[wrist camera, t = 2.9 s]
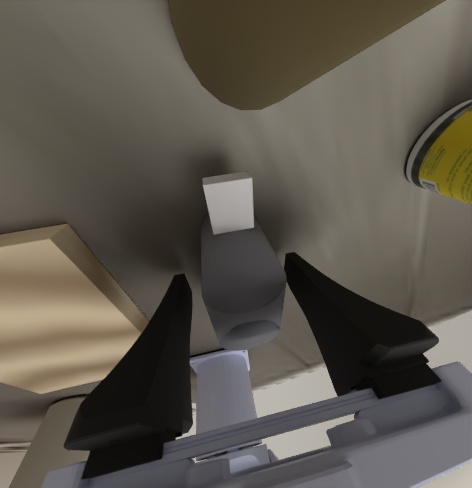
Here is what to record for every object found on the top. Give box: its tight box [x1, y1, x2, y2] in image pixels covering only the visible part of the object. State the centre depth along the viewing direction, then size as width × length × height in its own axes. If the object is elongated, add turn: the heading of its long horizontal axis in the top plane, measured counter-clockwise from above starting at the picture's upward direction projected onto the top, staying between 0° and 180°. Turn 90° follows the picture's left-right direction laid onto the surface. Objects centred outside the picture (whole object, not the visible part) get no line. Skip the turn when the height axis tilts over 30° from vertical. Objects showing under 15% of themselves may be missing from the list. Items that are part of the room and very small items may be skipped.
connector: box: [201, 171, 286, 351], centre depth 11 cm, size 11×4×5 cm, turn 6°
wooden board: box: [0, 224, 149, 394], centre depth 14 cm, size 18×14×2 cm
